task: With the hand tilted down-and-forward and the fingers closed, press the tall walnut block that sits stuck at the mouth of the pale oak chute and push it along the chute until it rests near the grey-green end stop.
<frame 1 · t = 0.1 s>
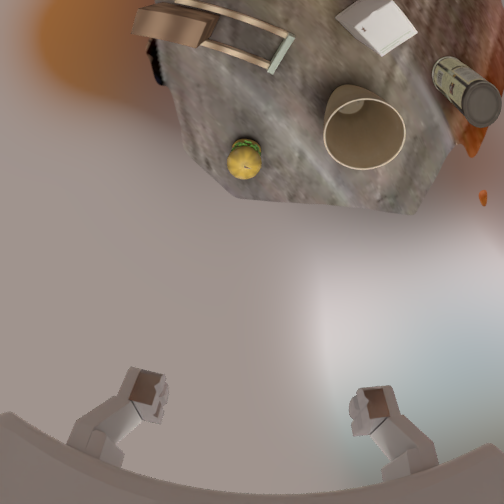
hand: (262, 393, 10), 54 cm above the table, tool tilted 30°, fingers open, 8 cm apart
hamburger: (247, 143, 62), on the table
skincare box: (359, 16, 32), on the table
plant pot: (348, 98, 48), on the table
chute: (186, 18, 35), on the table
coffee can: (449, 75, 36), on the table
end stop: (280, 50, 41), on the table
block: (186, 18, 35), on the table
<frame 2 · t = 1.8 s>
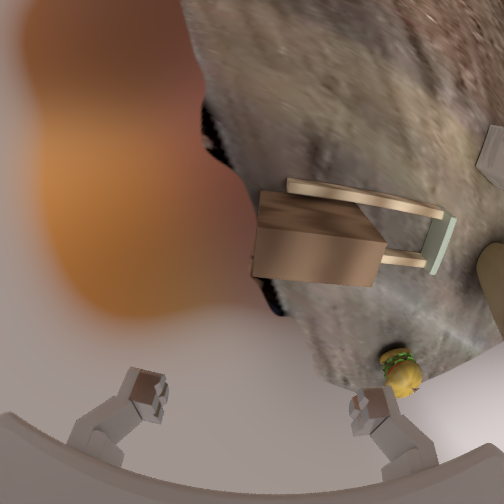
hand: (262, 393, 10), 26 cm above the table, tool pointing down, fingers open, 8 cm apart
hamburger: (392, 349, 46), on the table
skincare box: (491, 153, 26), on the table
plant pot: (488, 258, 35), on the table
chute: (306, 214, 33), on the table
end stop: (430, 234, 33), on the table
block: (306, 214, 33), on the table
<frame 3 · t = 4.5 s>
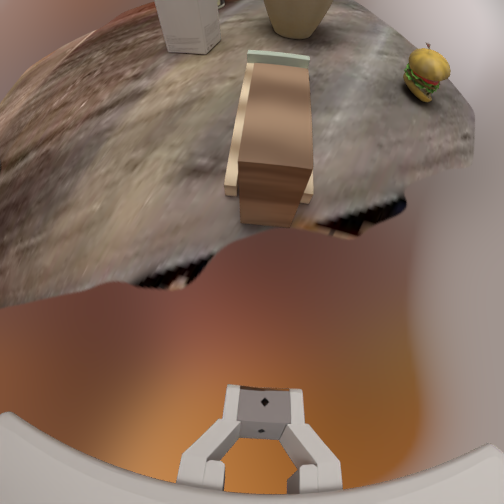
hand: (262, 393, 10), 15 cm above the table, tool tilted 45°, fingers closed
hamburger: (412, 94, 36), on the table
skincare box: (193, 47, 37), on the table
plant pot: (291, 32, 40), on the table
chute: (269, 175, 29), on the table
coffee can: (203, 6, 44), on the table
end stop: (276, 73, 35), on the table
block: (269, 175, 29), on the table
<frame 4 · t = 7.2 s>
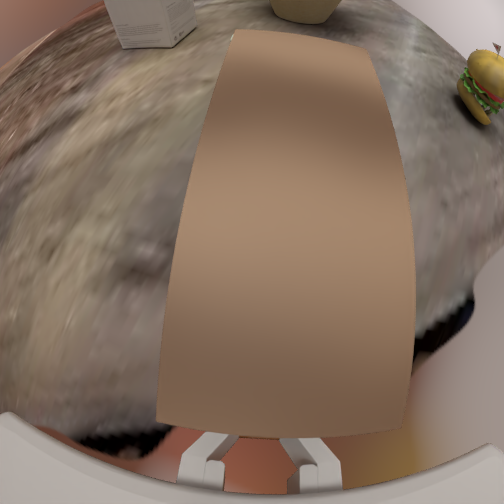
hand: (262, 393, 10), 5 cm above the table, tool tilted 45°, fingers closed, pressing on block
hamburger: (466, 111, 22), on the table
skincare box: (157, 38, 24), on the table
plant pot: (298, 15, 26), on the table
block: (269, 263, 16), on the table, touching gripper
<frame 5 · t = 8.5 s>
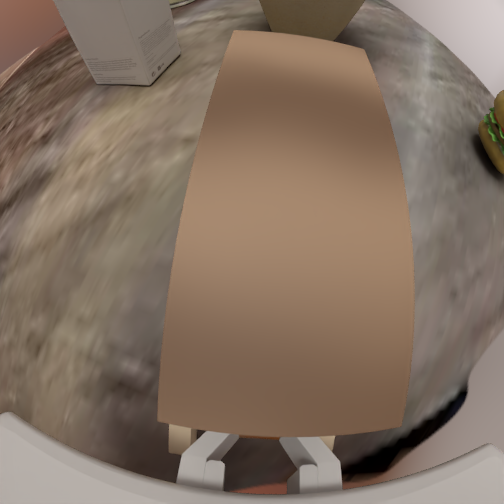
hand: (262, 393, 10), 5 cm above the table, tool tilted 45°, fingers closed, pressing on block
hamburger: (485, 156, 20), on the table
skincare box: (135, 70, 22), on the table
plant pot: (300, 35, 24), on the table
chute: (254, 406, 14), on the table
coffee can: (170, 2, 29), on the table
block: (269, 264, 16), on the table, touching gripper
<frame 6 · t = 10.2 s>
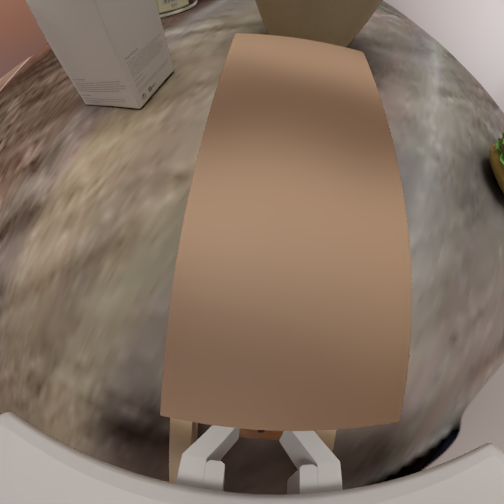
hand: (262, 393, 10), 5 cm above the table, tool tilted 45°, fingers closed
hamburger: (494, 182, 20), on the table
skincare box: (126, 89, 21), on the table
plant pot: (303, 48, 24), on the table
chute: (249, 452, 13), on the table
coffee can: (166, 8, 28), on the table
block: (269, 264, 17), on the table
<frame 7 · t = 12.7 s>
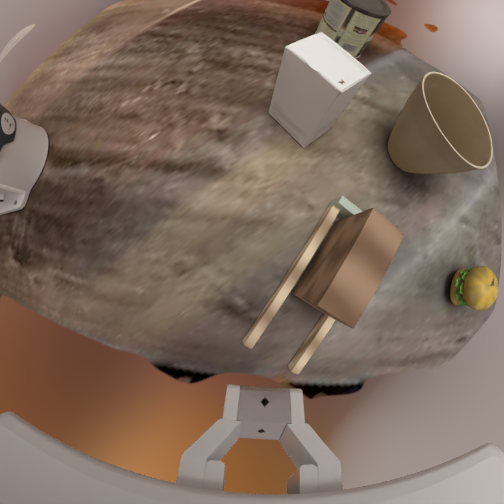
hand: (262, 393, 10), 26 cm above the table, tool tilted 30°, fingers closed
hamburger: (451, 285, 40), on the table
skincare box: (297, 121, 38), on the table
plant pot: (402, 152, 40), on the table
chute: (280, 338, 36), on the table
coffee can: (337, 43, 40), on the table
end stop: (352, 222, 38), on the table
block: (327, 266, 37), on the table
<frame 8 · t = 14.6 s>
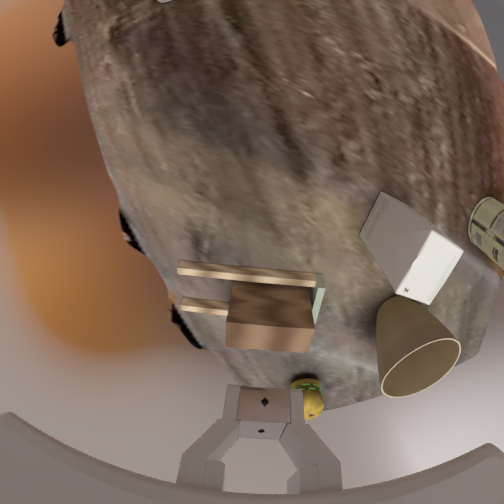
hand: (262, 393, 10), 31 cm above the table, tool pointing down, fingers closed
hamburger: (304, 377, 58), on the table
skincare box: (383, 218, 38), on the table
plant pot: (393, 308, 47), on the table
chute: (199, 284, 46), on the table
coffee can: (484, 220, 37), on the table
end stop: (312, 295, 46), on the table
block: (269, 291, 46), on the table
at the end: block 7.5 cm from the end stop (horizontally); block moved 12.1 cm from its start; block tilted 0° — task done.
